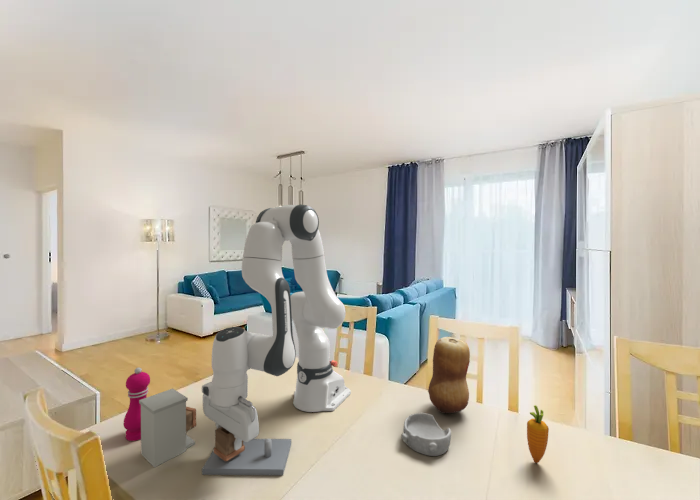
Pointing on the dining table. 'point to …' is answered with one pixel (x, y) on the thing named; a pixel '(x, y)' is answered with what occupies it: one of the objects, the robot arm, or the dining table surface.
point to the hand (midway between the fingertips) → (229, 443)
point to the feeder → (163, 427)
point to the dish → (425, 434)
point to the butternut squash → (450, 375)
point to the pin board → (252, 459)
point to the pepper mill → (135, 403)
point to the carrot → (537, 435)
